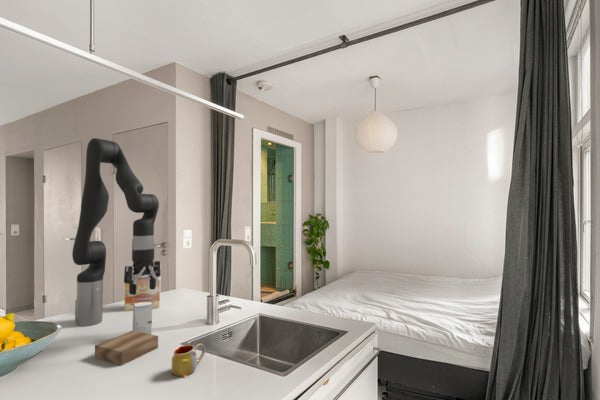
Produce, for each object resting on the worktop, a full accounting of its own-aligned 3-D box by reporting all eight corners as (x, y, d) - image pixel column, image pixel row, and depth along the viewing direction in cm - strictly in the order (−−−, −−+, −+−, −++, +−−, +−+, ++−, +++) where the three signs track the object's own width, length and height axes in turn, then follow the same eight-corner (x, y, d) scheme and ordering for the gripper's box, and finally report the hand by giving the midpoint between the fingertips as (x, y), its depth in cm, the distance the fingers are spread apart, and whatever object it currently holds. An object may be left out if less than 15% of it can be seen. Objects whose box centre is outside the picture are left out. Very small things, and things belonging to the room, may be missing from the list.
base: (94, 358, 107) (94, 345, 107) (132, 341, 120) (132, 330, 120) (121, 365, 102) (121, 352, 102) (157, 347, 115) (158, 335, 115)
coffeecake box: (124, 311, 154) (125, 268, 155) (126, 307, 161) (126, 265, 161) (159, 308, 160) (160, 266, 160) (160, 304, 166) (160, 264, 167)
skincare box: (133, 340, 121) (134, 306, 122) (132, 336, 125) (132, 303, 125) (152, 336, 125) (152, 303, 125) (150, 333, 128) (150, 300, 129)
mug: (182, 380, 94) (183, 356, 94) (166, 373, 98) (166, 350, 98) (213, 363, 105) (214, 341, 105) (197, 357, 108) (198, 336, 108)
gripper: (151, 245, 134) (151, 286, 133) (119, 249, 121) (118, 295, 120) (165, 246, 131) (165, 288, 130) (134, 250, 118) (133, 297, 117)
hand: (143, 291), depth 125 cm, fingers open, 8 cm apart
